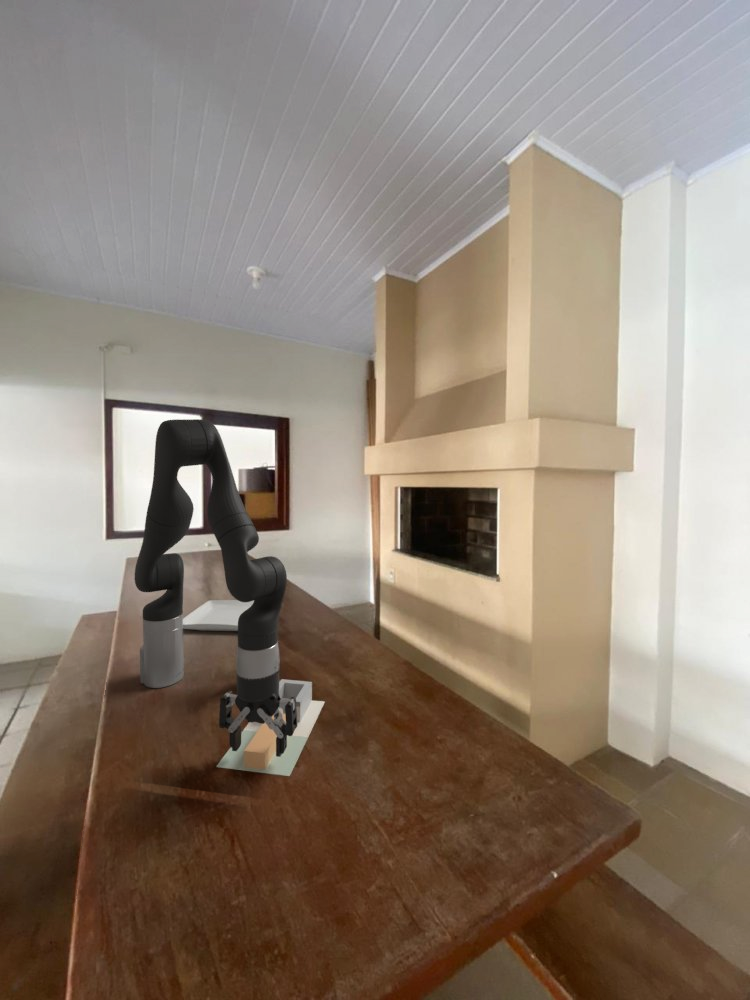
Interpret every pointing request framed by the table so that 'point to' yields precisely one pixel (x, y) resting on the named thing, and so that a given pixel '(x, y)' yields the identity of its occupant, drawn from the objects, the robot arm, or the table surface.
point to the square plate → (216, 615)
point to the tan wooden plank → (261, 747)
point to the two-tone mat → (295, 743)
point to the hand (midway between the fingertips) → (258, 751)
